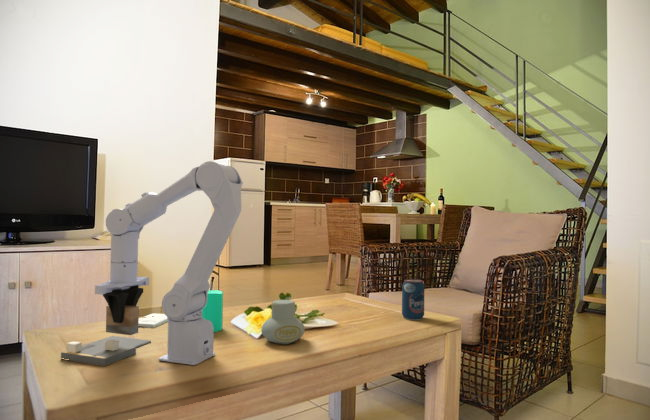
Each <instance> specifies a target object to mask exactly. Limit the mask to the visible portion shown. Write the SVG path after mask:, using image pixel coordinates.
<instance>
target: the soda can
mask: <svg viewBox="0 0 650 420" xmlns="http://www.w3.org/2000/svg"><path fill="white" fill-rule="evenodd" d="M403 281H404V282H403V283H402V286H401V289H402V290H401V315H402V316H403V318H404V319H405V320H408V321H421V320H422V319H423V318H424V317H425V284H424V281H423V279H418V278H406V279H404V280H403Z"/></svg>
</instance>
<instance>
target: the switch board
mask: <svg viewBox="0 0 650 420" xmlns="http://www.w3.org/2000/svg"><path fill="white" fill-rule="evenodd" d="M136 352H137V348H136V347H133V346H125V345H119V349H117V350H114V351H111V350H105V343H102V342H95V341H92V342H89V343H86V344H83V345H81V351H79V352H76V353H73V352H67V350H65V351H61V352H60V359H61V358H64V359H69V360H71V361H70V362H75V363H82V364H89V365H95V366H101V367H106V366H109V365H111V364H113V363H116V362H118V361H121V360H123V359H126V358H129V357H131V356H133V355H135V354H137V353H136Z"/></svg>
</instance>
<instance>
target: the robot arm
mask: <svg viewBox="0 0 650 420" xmlns="http://www.w3.org/2000/svg"><path fill="white" fill-rule="evenodd" d="M243 182H244V181H243V180H242V177H241V176H240V174H239V172H238V170H237V169H236V168H235V167H233V166H230V165H225V164H221V163H218V162H216V161H212V160H210V161H209V160H208V161H205V162H203V163H202V164H200V165H198V166H195V167H194V168H192V169H191V170H190V171H189V172H188V173H187V174H185V175H184V176H182V177H181V178H179V179H178V180H176V181H175V182H173V183H172V184H171V185H169V186H168V187H166V188H165V189H163V190H162V191H160V192H159V193H156V192H154V191H151V192H143V193H142V194H141V197H140V198H138V199H136V200H135V201H133V202H132V203H127V204H125V205H124V206H125V207H124V208H123V209H122V208H115V209H112V210H111V211H110V212H109V213H108V214H107V216H106V217H105V227H106V230H107V231H108V233H110V266H109V267H110V268H109V269H110V270H109V271H110V273H109V275H110V277H109V278H110V279H108V280H107V281H106V282H101V283H99V284H95V285H94V295H102V297H103V298H104V299H105V301H106V303H107V306H109V308H110V311H111V314H112V318H113V322H115V323H122V322H123V318H124V308H125V305H129V306H138V303H139V300H140V298H141V297H142V295H143V293H144V288H143V287H142V286H149V285H150V278H149V276H140V277H139V276H138V272H139V271H138V267H139V266H138V264H139V263H138V262H139V261H138V259H139V258H138V256H139V240H140V234H141V232H142V231H143V229H144V228H145V226H146V225H148V224H149V223H152V222H153V221H155V220H157V219H158V218H160V217H161V216H163V215H165V214H166V212H167V209H168V206H170V205H172V204H173V203H175V202H178V201H180V200H181V199H184V198H185V197H187V196H189V195H191V194H193V193H195V192H197V191H198V192H200V191H202V192H203V193H204V194H205V195H206V196H207V197H208V199H209V200H210V202H211V204H212V208H213V212H212V214H211V216H210V219H209V221H208V223H207V225H206V227H205V229H204V231H203V233H202V236H201V238H200V240H199V242H198V244H197V246H196V248H195V250H194V253H193V254H192V256H191V259H190V261H189V263H188V265H187V267H186V269H185V271H184V273H183V274H182V276H181V277H179V278H178V280H176V281H175V283H174V285H173V286H172V288H171V289H170V290H169V291H167V292H166V293H165V294H164V296H163V297H162V301H161V309H162V311H163V314H165V315H166V316H167V320H168V322H167V353H166V354H164V355H162V356H160V357H158V361H162V362H169V363H175V364H181V365H182V364H183V365H189V366H196V365H198V364H200V363H202V362H204V361H205V360H208V359H210V358H212V357H213V356H215V355H216V352H214V333H215V332H214V328H213V324H212V322H211V321H209V320H206V319H204V318H203V317H202V309H203V308H204V307H205V306H206V304H207V294H208V291H209V290H210V288H211V285H210V283H209V280H210V278H211V275H212V273H213V271H214V269H215V267H216V265H217V263H218V260H219V258H220V256H221V254H222V252H223V250H224V248H225V246H226V244H227V242H228V239H229V238H230V235H231V233H232V231H233V229H234V227H235V225H236V223H237V221H238V218H239V216H240V214H241V212H242V193H241V192H242V186H243V184H244V183H243Z"/></svg>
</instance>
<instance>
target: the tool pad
mask: <svg viewBox="0 0 650 420" xmlns="http://www.w3.org/2000/svg"><path fill="white" fill-rule="evenodd" d="M108 340H118V341H119V345H125V346H133V347H136V349H137V348H140V347H142V346H145V345H147V344H150V343H151V341H152V340H149V339H142V338H141V339H140V338H134V337H133V338H132V337H127V336H117V335H111V336H107V337H105V338H101V339H97V340H95V341H94V342H102V343H105V341H108Z"/></svg>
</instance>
